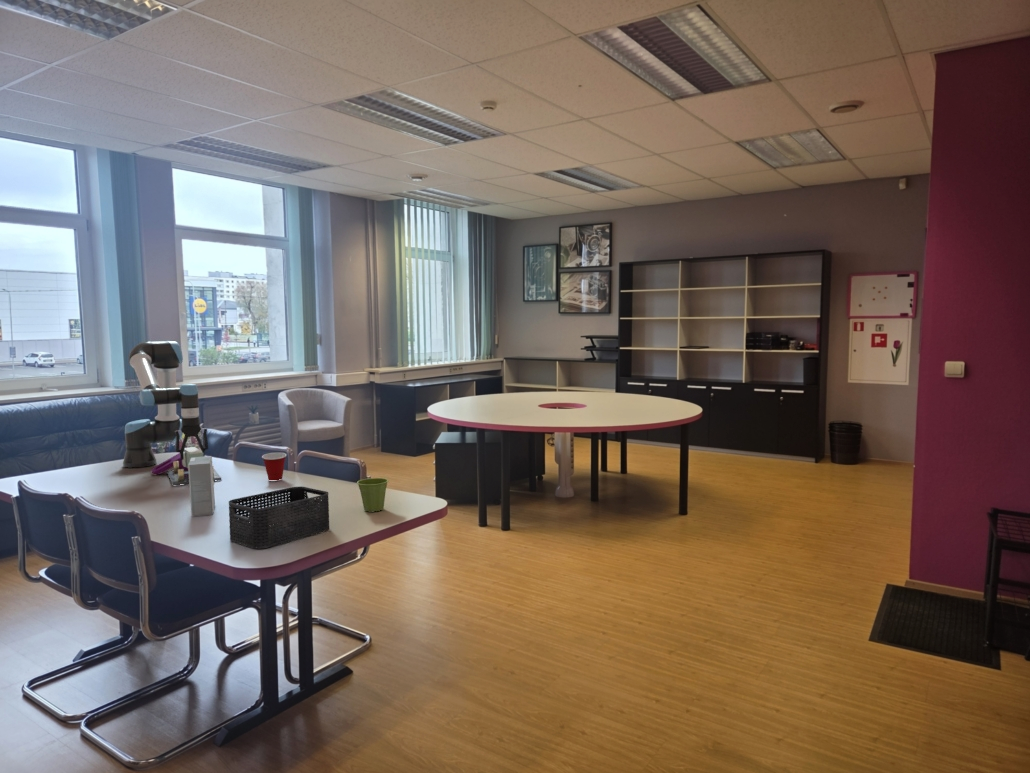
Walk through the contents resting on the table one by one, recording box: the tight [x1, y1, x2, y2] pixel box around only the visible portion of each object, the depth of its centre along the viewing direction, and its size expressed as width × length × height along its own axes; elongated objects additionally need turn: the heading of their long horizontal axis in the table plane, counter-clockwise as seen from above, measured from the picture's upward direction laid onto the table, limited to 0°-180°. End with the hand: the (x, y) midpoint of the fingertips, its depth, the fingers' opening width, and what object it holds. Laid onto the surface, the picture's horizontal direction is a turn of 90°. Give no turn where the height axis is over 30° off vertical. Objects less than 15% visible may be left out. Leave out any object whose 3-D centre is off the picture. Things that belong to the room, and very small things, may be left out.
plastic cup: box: [261, 452, 288, 481], centre depth 307 cm, size 11×11×12 cm
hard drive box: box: [188, 455, 216, 518], centre depth 255 cm, size 16×8×20 cm, turn 22°
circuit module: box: [182, 446, 205, 468], centre depth 315 cm, size 16×6×8 cm, turn 39°
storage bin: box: [228, 486, 330, 550], centre depth 224 cm, size 29×19×13 cm
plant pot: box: [356, 477, 389, 513], centre depth 254 cm, size 12×12×11 cm
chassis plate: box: [166, 461, 222, 486], centre depth 315 cm, size 30×20×6 cm, turn 32°
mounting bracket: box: [150, 452, 188, 475], centre depth 329 cm, size 10×8×18 cm
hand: (193, 465), depth 315 cm, fingers closed on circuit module, 6 cm apart
